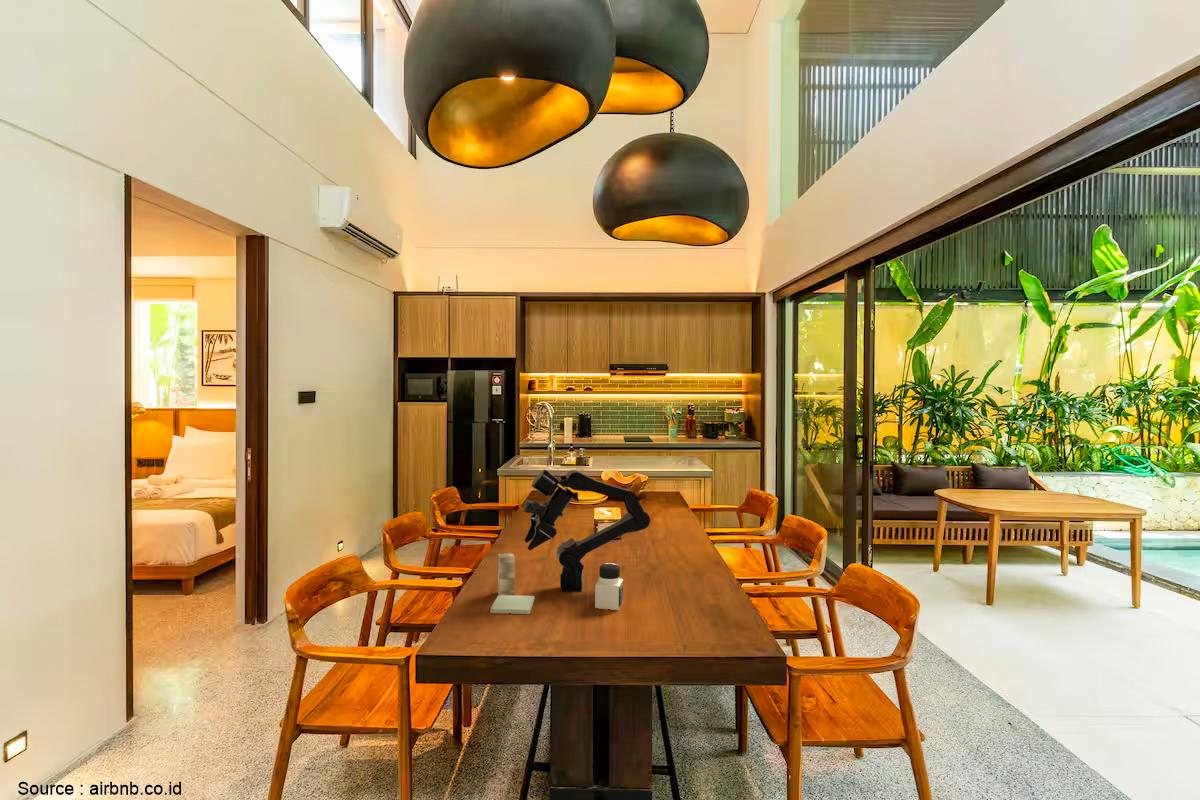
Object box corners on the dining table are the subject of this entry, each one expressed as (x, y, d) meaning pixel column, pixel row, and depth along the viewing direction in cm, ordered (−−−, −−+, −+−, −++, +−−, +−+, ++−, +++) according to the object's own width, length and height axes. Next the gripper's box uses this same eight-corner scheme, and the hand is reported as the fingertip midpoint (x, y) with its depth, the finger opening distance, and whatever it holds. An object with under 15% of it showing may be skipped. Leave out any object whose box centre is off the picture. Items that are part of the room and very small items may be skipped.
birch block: (512, 591, 182) (512, 553, 182) (514, 596, 177) (515, 557, 177) (497, 592, 180) (498, 553, 180) (499, 597, 176) (499, 558, 176)
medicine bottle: (619, 610, 166) (619, 569, 166) (594, 608, 168) (595, 567, 168) (623, 602, 173) (623, 562, 173) (599, 600, 175) (600, 560, 175)
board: (534, 599, 174) (534, 595, 174) (529, 613, 163) (529, 609, 163) (498, 599, 174) (498, 595, 174) (490, 613, 163) (490, 608, 163)
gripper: (532, 485, 191) (504, 524, 189) (540, 495, 173) (508, 538, 171) (559, 504, 193) (531, 543, 191) (569, 516, 175) (538, 559, 173)
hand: (526, 545), depth 181 cm, fingers open, 9 cm apart
